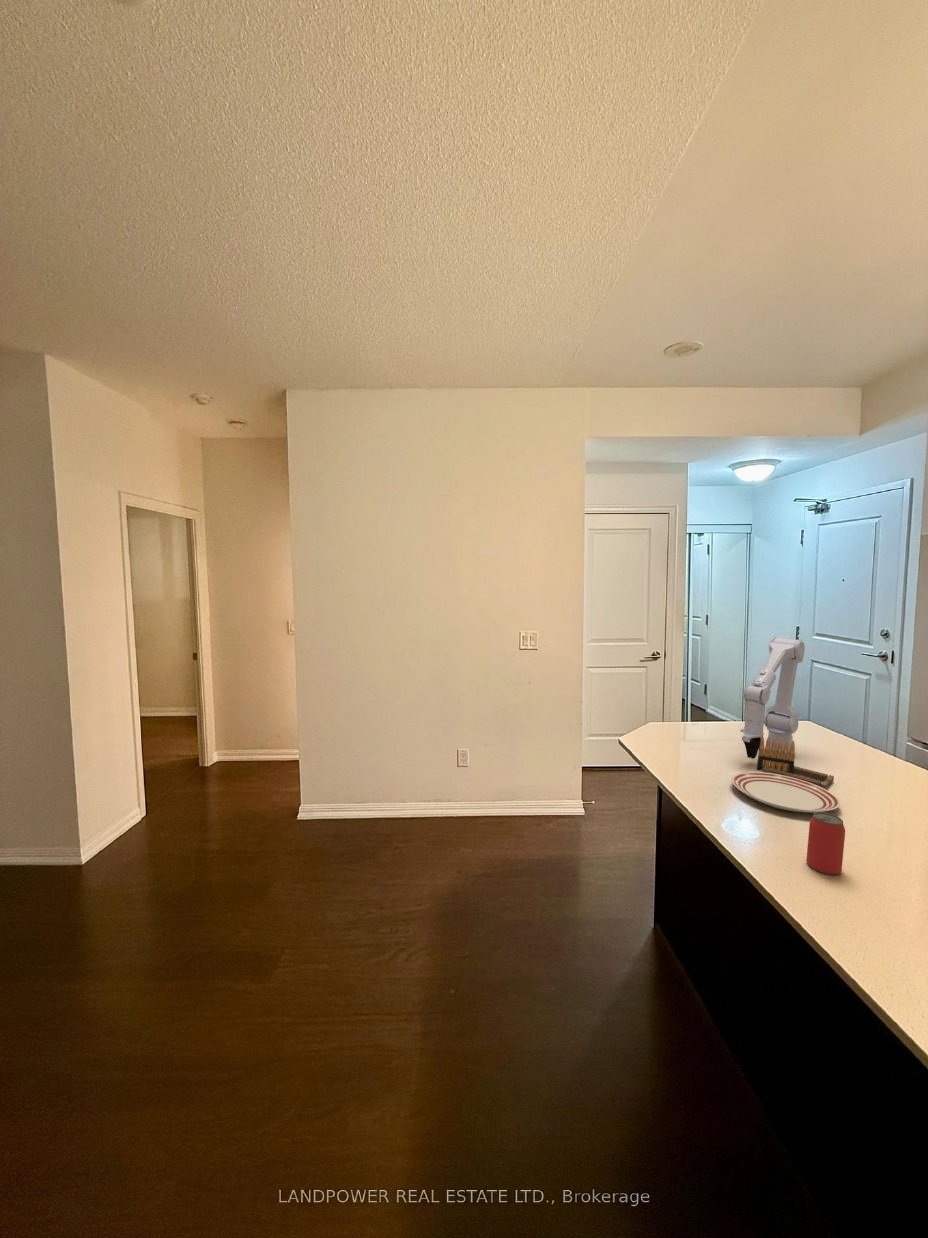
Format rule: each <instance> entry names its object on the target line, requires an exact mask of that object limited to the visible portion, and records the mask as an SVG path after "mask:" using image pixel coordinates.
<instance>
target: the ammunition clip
mask: <svg viewBox="0 0 928 1238" xmlns="http://www.w3.org/2000/svg"><path fill="white" fill-rule="evenodd" d="M788 747H789V744H788V740H786V741H785V745H784V750H782V739H780V740H779V744H778V749H777V750H776V738H774V739H773V743H772V748H771V755H770V738H769V737H768V736H767V738H766V743H765V738H764V736H762V737H761V740H760V746H759V749H758V753H757V762H756V763H757V764H756V770H757V771H760V772H762V768H764V767H769V768H772V769H776V770H780V771H784V772H787V773H791V774H794V766H795V761H796V760H795V757H796V752H795V751H796V749H795V748H796V747H795V740H792V743H791V747H790V752H789V748H788ZM764 752H765V754H764ZM776 752H777V757H776ZM782 754H783V758H782ZM788 757H789V759H788ZM775 766H776V768H775ZM781 767H782V769H781Z"/></svg>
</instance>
